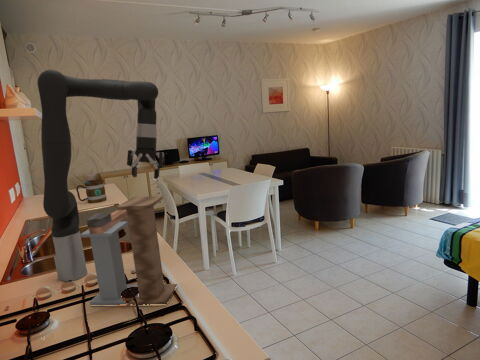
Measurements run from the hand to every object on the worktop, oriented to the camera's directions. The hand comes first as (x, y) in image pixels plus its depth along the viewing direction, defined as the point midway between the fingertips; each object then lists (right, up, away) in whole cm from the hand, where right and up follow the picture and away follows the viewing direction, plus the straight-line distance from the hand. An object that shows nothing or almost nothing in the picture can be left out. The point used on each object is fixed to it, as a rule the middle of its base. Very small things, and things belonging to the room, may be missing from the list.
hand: (145, 177), depth 135 cm
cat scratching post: (+9, -39, -23) cm, 46 cm away
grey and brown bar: (-5, -15, -22) cm, 27 cm away
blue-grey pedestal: (-4, -39, -22) cm, 45 cm away
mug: (-71, -17, +119) cm, 140 cm away
